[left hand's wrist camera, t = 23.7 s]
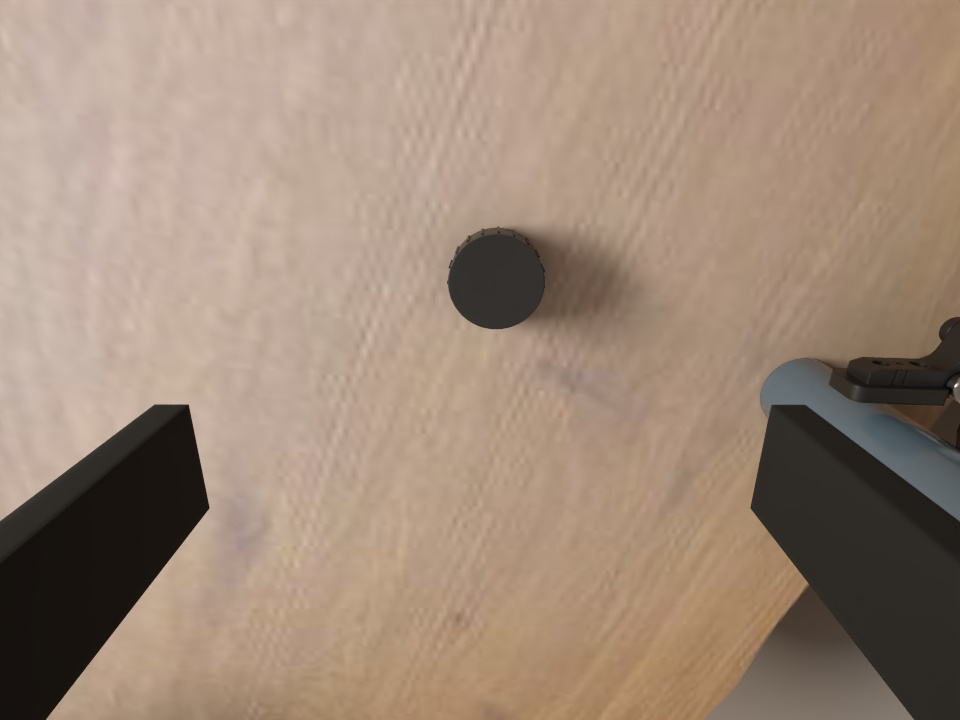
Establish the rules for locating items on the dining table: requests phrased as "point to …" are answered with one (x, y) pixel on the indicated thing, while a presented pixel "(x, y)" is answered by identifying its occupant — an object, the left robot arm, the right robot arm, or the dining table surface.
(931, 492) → the bottle
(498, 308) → the lid
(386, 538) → the dining table surface
